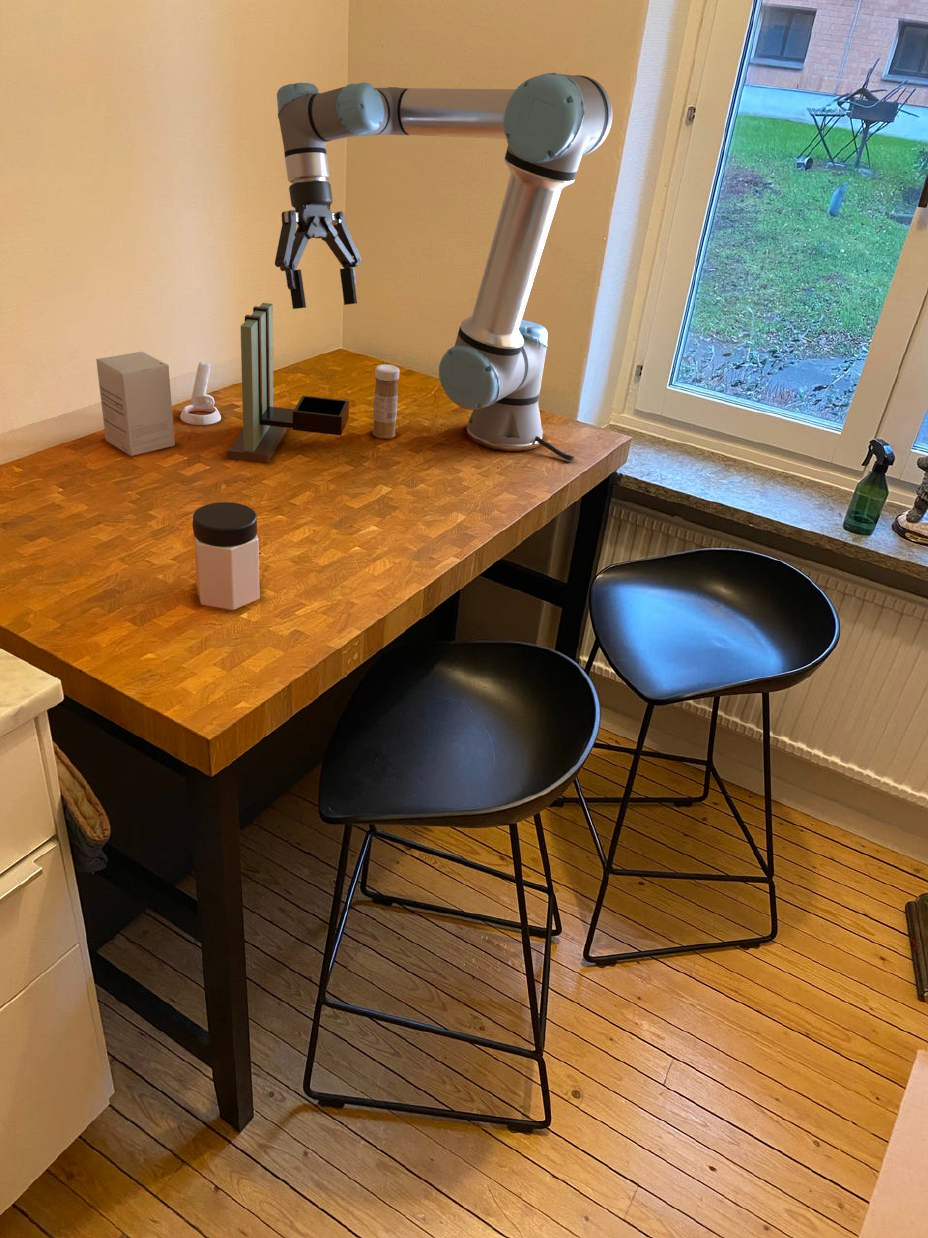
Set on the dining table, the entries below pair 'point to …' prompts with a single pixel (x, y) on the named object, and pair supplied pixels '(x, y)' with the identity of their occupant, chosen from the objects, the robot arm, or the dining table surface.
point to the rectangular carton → (136, 402)
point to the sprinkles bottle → (385, 401)
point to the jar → (226, 555)
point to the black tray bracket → (309, 410)
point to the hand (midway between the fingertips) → (325, 306)
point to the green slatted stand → (256, 394)
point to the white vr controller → (201, 400)
